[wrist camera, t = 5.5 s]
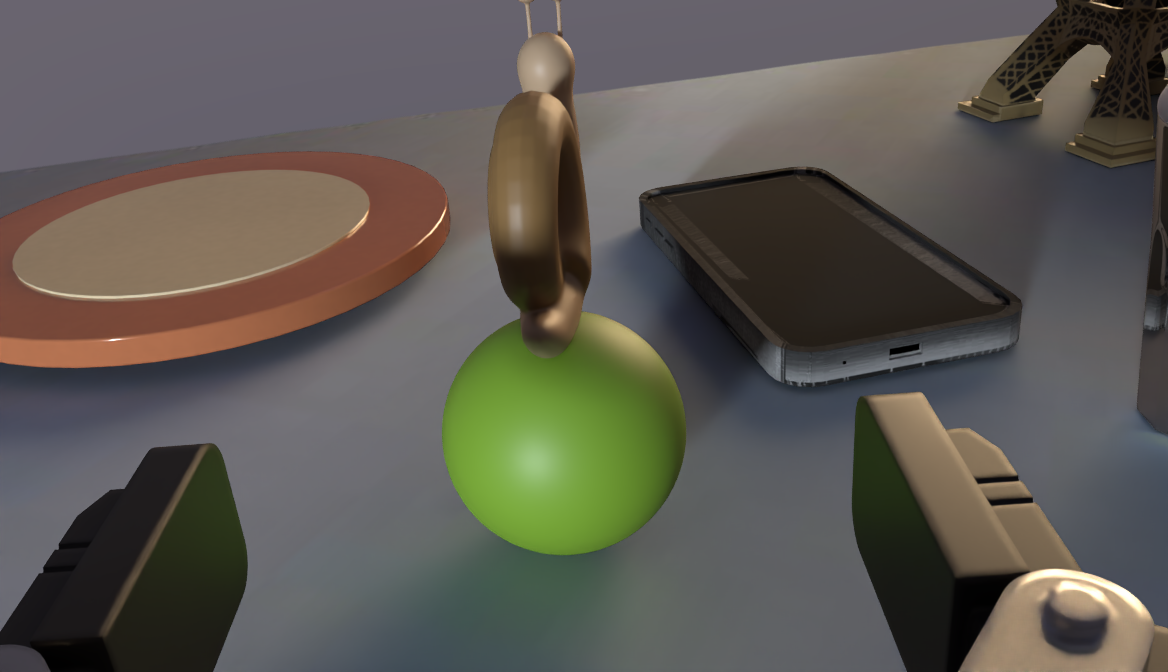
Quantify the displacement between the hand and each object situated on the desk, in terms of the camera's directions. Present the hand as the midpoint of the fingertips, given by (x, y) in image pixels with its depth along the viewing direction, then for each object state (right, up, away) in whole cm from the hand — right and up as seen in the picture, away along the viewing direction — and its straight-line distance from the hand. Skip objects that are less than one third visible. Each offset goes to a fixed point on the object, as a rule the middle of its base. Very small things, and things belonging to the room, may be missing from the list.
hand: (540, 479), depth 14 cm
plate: (-14, +4, +29) cm, 32 cm away
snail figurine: (0, -3, +12) cm, 13 cm away
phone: (+8, +4, +24) cm, 25 cm away
